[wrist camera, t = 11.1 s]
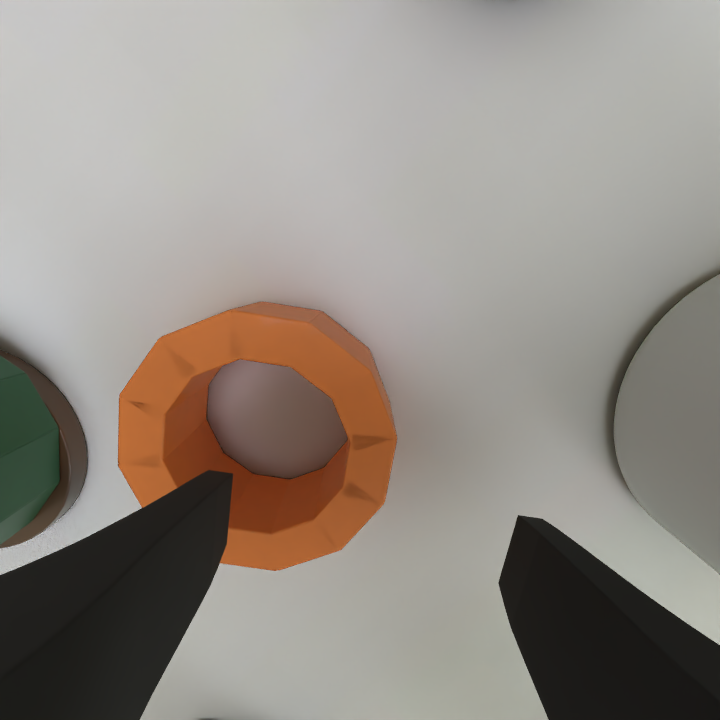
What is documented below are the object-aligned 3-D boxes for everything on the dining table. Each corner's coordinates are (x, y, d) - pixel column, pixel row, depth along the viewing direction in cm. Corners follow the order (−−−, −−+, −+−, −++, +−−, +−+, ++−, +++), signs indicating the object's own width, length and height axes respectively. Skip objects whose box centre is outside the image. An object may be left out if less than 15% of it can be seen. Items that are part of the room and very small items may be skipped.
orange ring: (367, 520, 17) (368, 584, 13) (167, 491, 17) (115, 549, 13) (404, 324, 15) (417, 339, 11) (177, 287, 15) (119, 291, 11)
